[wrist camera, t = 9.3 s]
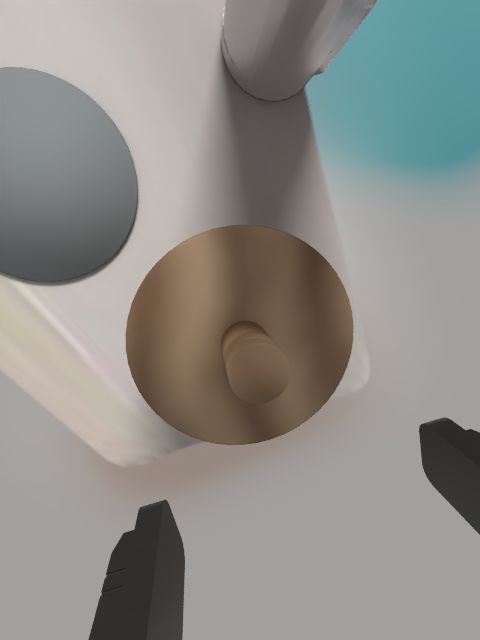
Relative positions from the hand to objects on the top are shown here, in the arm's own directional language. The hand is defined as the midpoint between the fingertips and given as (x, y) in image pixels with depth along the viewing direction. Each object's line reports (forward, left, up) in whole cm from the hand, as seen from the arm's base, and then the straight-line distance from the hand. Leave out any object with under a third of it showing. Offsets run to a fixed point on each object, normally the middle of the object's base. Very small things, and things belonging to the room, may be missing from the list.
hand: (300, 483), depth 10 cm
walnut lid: (0, 0, -15) cm, 15 cm away
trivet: (+14, -16, -26) cm, 33 cm away
